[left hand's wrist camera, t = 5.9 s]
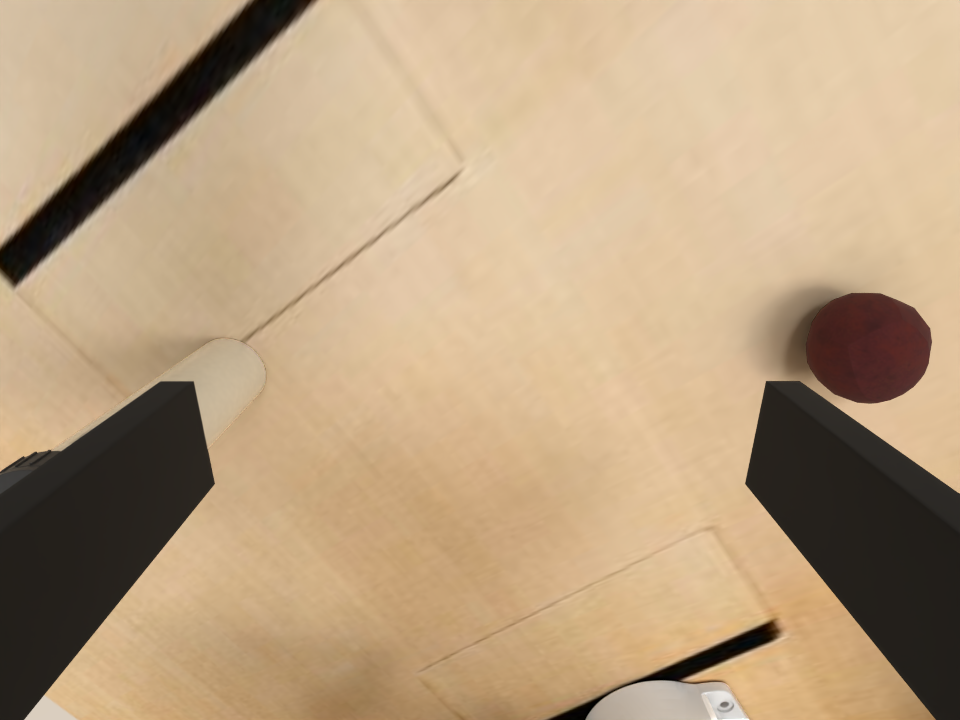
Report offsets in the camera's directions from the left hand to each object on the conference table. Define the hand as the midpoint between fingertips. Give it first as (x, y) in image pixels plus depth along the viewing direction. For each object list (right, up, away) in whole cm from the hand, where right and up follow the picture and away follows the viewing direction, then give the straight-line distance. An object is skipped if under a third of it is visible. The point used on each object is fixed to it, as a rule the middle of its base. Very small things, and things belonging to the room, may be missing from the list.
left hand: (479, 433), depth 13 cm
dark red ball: (+27, +4, +28) cm, 39 cm away
